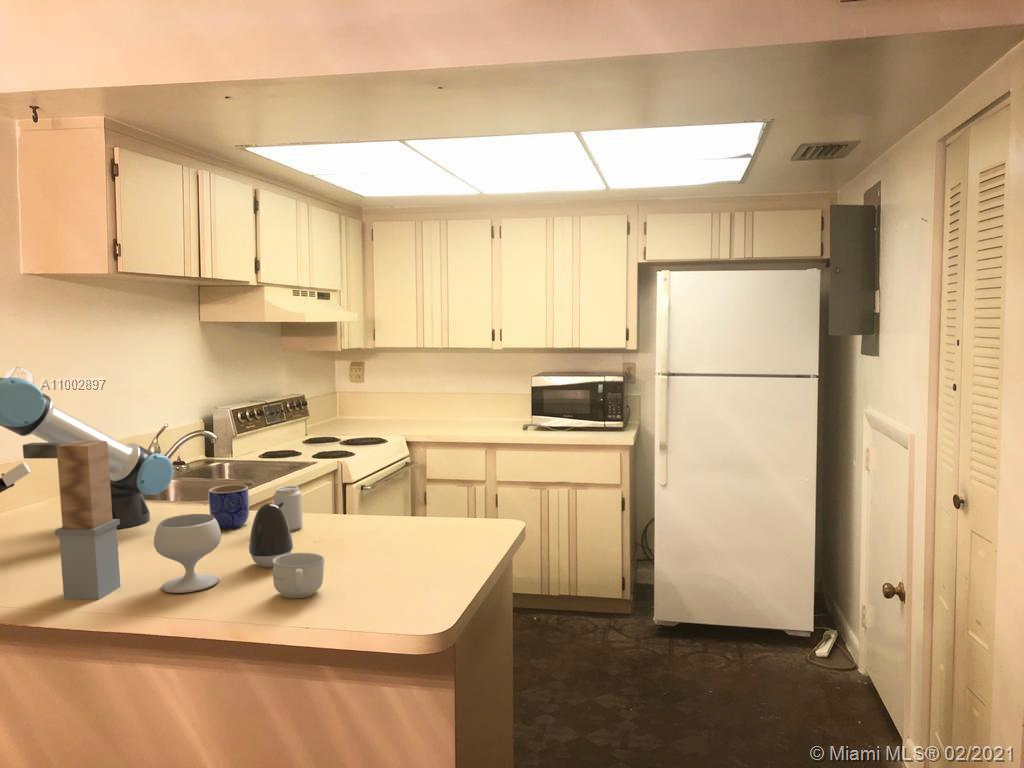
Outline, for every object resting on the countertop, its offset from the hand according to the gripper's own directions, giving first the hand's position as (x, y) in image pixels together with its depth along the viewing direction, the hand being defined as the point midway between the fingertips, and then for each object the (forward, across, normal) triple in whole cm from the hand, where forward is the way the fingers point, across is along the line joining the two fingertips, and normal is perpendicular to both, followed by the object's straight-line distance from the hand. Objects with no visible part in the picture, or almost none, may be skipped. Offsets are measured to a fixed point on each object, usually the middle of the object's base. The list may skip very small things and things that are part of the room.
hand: (5, 473), depth 172 cm
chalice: (+19, -6, -43) cm, 47 cm away
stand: (+2, 0, -33) cm, 33 cm away
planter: (+7, -55, -36) cm, 66 cm away
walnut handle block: (+6, 0, -17) cm, 18 cm away
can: (+24, -52, -45) cm, 73 cm away
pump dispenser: (+30, -21, -49) cm, 62 cm away
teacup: (+43, 0, -56) cm, 71 cm away
